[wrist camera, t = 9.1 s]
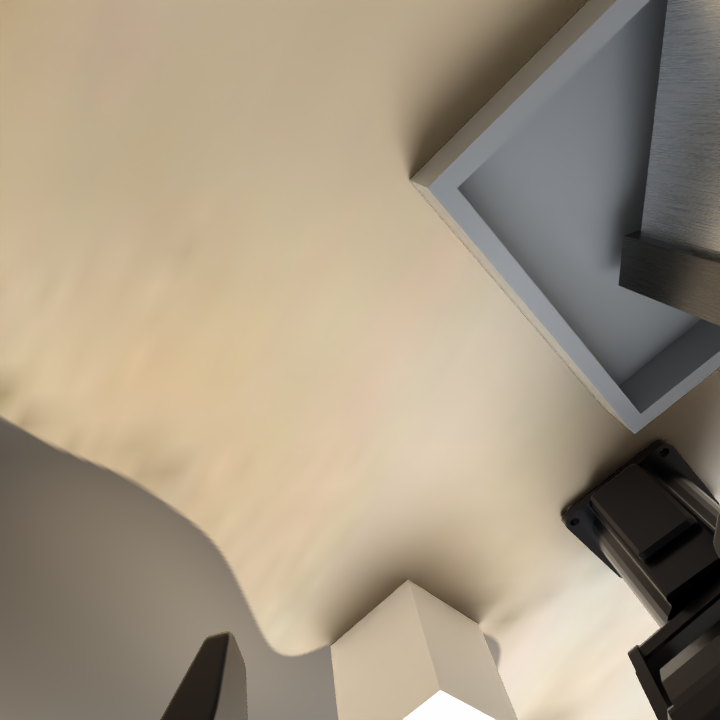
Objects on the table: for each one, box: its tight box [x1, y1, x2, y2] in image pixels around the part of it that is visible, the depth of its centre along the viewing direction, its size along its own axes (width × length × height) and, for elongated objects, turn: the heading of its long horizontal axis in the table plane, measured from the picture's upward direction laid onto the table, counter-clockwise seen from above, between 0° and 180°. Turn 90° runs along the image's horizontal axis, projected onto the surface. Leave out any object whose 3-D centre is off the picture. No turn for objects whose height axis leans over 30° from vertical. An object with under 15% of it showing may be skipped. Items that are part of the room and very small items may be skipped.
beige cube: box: [331, 580, 518, 720], centre depth 26 cm, size 6×6×6 cm
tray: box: [409, 0, 720, 434], centre depth 19 cm, size 14×14×2 cm
